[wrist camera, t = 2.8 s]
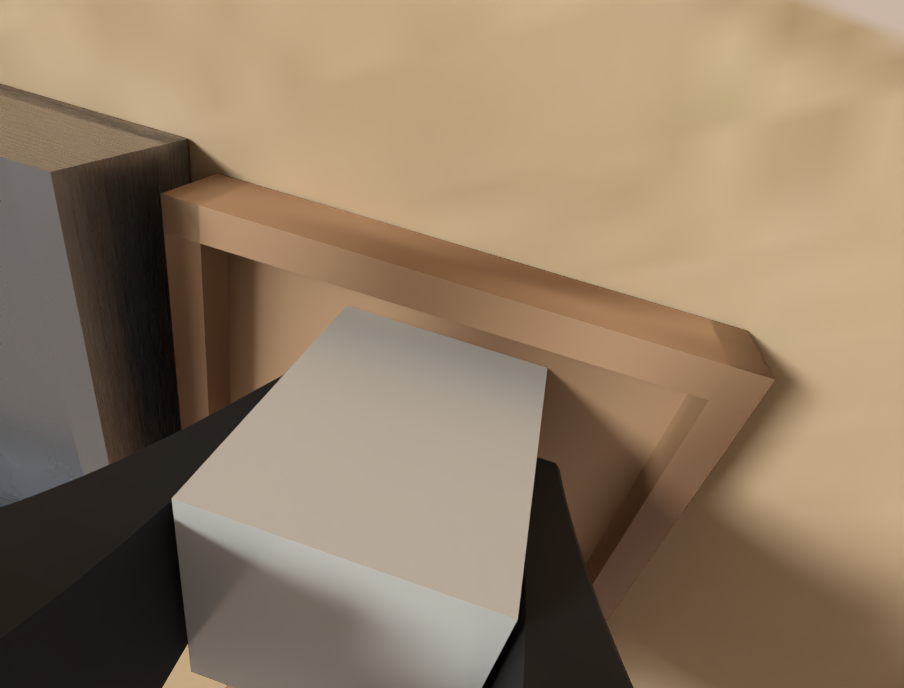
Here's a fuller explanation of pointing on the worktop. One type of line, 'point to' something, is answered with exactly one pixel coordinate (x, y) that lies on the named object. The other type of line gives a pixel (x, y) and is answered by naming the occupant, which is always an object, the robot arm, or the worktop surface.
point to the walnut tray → (475, 322)
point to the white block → (365, 516)
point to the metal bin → (82, 291)
